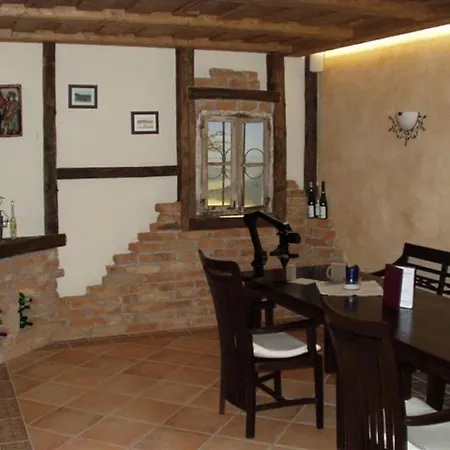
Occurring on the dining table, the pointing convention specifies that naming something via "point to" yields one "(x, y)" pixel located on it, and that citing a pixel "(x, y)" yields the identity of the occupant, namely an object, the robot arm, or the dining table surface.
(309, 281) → the mat
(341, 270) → the cup
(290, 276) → the block
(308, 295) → the dining table surface
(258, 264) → the robot arm
